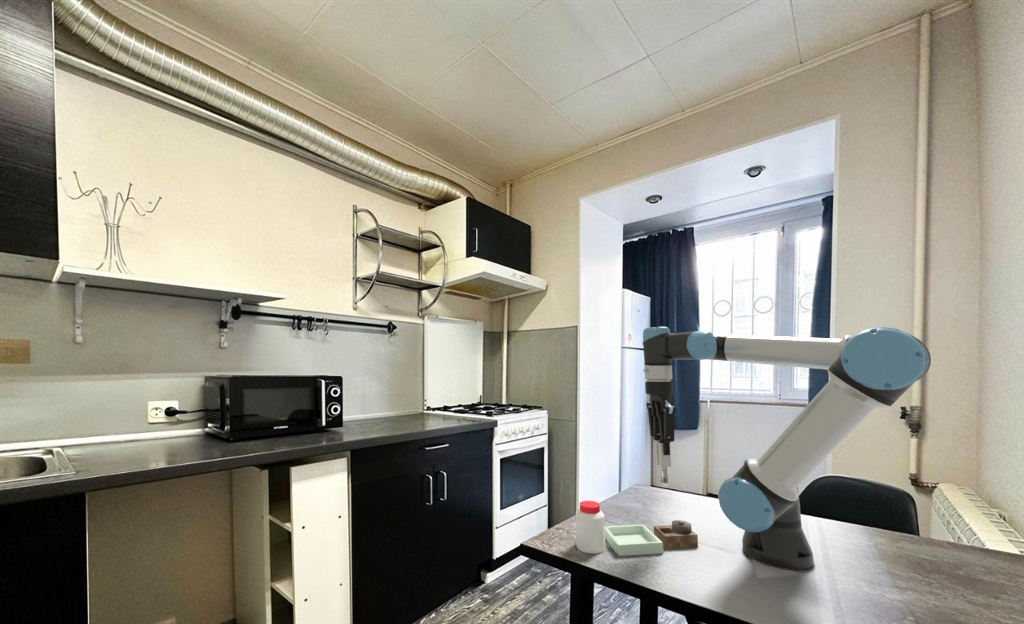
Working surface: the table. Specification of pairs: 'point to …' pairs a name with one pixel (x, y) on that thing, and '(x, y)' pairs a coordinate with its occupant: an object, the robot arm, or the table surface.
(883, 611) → the table surface
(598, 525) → the pill bottle
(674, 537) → the brown and grey block
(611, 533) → the tray
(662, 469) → the clear translucent rod
